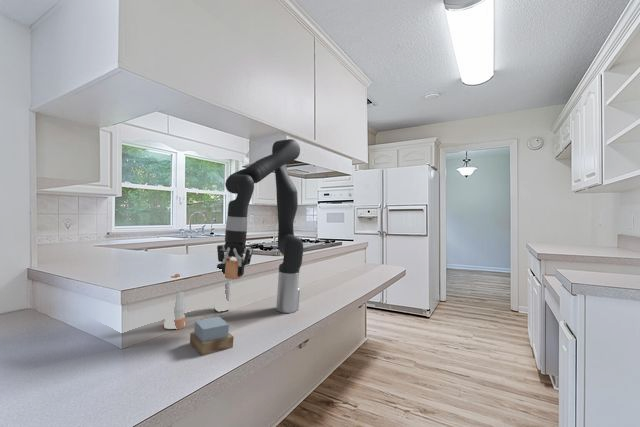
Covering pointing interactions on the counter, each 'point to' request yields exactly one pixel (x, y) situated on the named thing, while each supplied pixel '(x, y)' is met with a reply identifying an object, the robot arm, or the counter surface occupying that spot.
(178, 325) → the salt shaker
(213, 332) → the slate top block
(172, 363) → the counter surface
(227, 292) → the travel mug
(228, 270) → the terracotta drum
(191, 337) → the walnut base block
